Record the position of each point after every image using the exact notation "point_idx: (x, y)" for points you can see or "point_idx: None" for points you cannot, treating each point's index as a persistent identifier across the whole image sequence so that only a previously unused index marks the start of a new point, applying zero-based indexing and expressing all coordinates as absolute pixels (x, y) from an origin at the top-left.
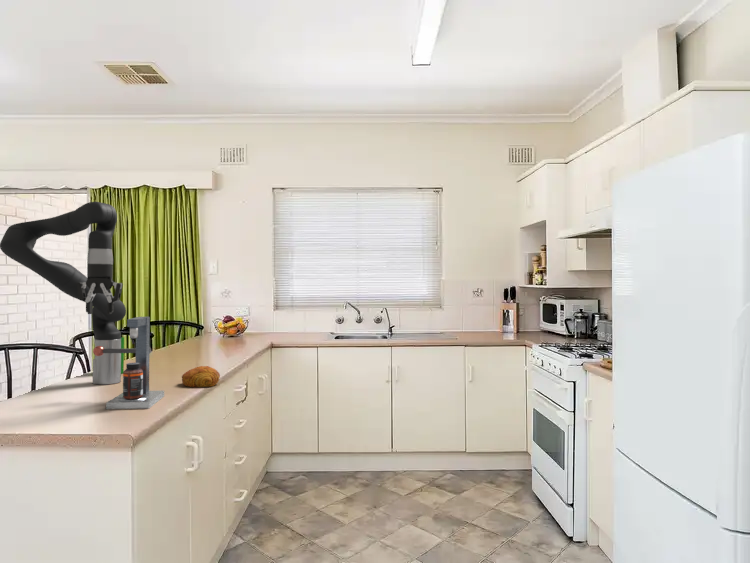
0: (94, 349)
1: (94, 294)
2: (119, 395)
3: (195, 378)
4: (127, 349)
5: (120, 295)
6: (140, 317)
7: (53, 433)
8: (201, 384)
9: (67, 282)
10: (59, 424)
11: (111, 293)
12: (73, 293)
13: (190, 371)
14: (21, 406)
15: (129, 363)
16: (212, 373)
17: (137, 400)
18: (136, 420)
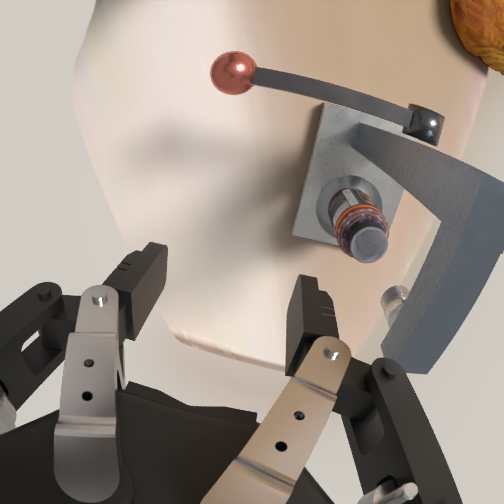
0: (217, 87)
1: (118, 369)
2: (315, 157)
3: (489, 55)
4: (358, 109)
5: (415, 405)
6: (477, 250)
7: (235, 352)
8: (492, 68)
9: None
10: (229, 313)
11: (326, 415)
12: None
13: (485, 22)
14: (111, 152)
15: (359, 244)
16: None
17: None
18: (346, 324)
